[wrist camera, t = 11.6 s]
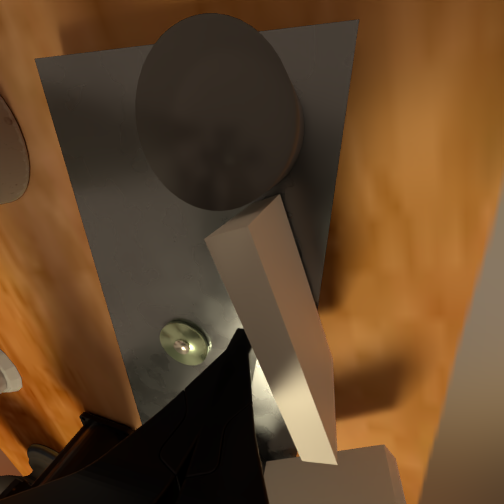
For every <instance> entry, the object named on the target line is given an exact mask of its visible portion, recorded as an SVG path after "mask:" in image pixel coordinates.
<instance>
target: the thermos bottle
mask: <svg viewBox="0 0 504 504" xmlns="http://www.w3.org/2000/svg"><path fill="white" fill-rule="evenodd" d="M29 170H30V168H29V159H28V153H27V149H26V145H25V141H24V139H23V136H22V134H21V131H20V128H19V126H18V124H17V122H16V120H15V118H14V116H13V114H12V112H11V111H10V109H9V108H8V106H7V105H6V103H5V102H4V100H3V99H2V97H1V96H0V204H4V203H9V202H12V201H15V200H17V199H18V198H19V197H21V196H22V195H23V193H24V192H25V190H26V188H27V185H28V181H29Z"/></svg>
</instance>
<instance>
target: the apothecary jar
mask: <svg viewBox="0 0 504 504" xmlns="http://www.w3.org/2000/svg"><path fill="white" fill-rule="evenodd" d="M58 454H59V453H57V452H56V451H54V450H52V449H50V448H48V447H45V446H43V445H39V444H33V445H31V446H30V447H29V448H28V451H27V455H28V458H29V464H30V466H31V468H32V469H33V472H32V473H31V474H30V475H28V476H24V477H22V476H13V475H6V476H0V494H1V493H2V492H3V491H4V490H5V489H6V488H7V487H8V486H9V485H10V483H11V482H12V481H13V480H14V479H15V478H16V479H18V480H20V481H22V482H23V481H24V479H25V480H27V481H28V482H29V485H30V486H31V485H32V484H33V483H34V482H35V481H36V480H37V478H38V477H39V476H40V475H41V474H42V473H43V472H44V470H45V469H46V468H47V467H48V466H49V465H50V463H51V462H52V461H53V460H54V459H55V458H56V457H57V455H58Z"/></svg>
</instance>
